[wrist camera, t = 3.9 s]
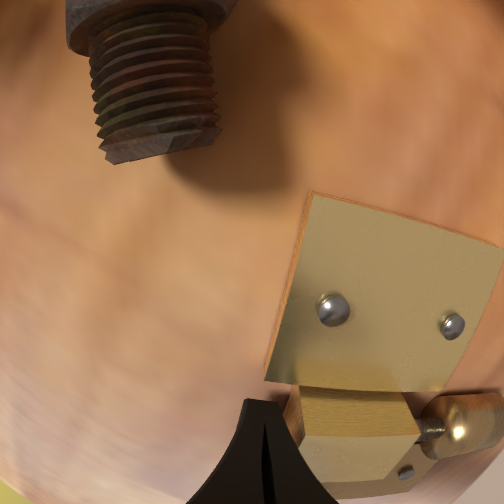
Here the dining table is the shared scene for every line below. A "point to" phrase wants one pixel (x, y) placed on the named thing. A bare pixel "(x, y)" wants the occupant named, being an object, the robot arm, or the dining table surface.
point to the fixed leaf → (436, 442)
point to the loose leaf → (371, 330)
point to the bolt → (149, 72)
